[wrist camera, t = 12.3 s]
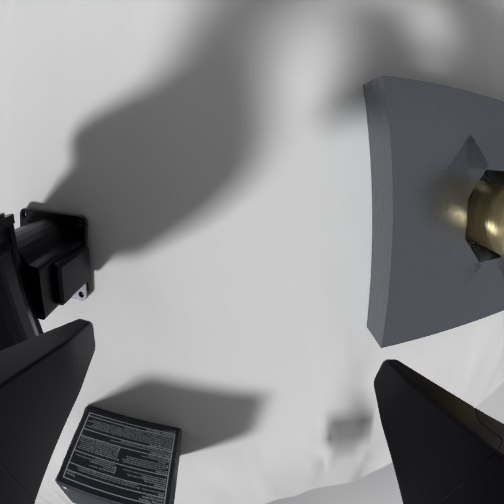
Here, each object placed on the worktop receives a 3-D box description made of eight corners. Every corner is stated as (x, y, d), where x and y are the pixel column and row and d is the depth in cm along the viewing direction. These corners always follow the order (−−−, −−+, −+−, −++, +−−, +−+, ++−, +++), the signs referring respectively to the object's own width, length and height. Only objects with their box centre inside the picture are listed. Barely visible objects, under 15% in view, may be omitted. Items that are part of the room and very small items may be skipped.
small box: (95, 436, 26) (70, 503, 16) (85, 403, 24) (50, 478, 14) (180, 457, 27) (171, 532, 17) (182, 427, 25) (169, 516, 15)
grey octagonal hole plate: (366, 326, 22) (381, 347, 19) (363, 85, 16) (382, 75, 13) (516, 286, 22) (533, 297, 19) (527, 118, 16) (547, 119, 14)
